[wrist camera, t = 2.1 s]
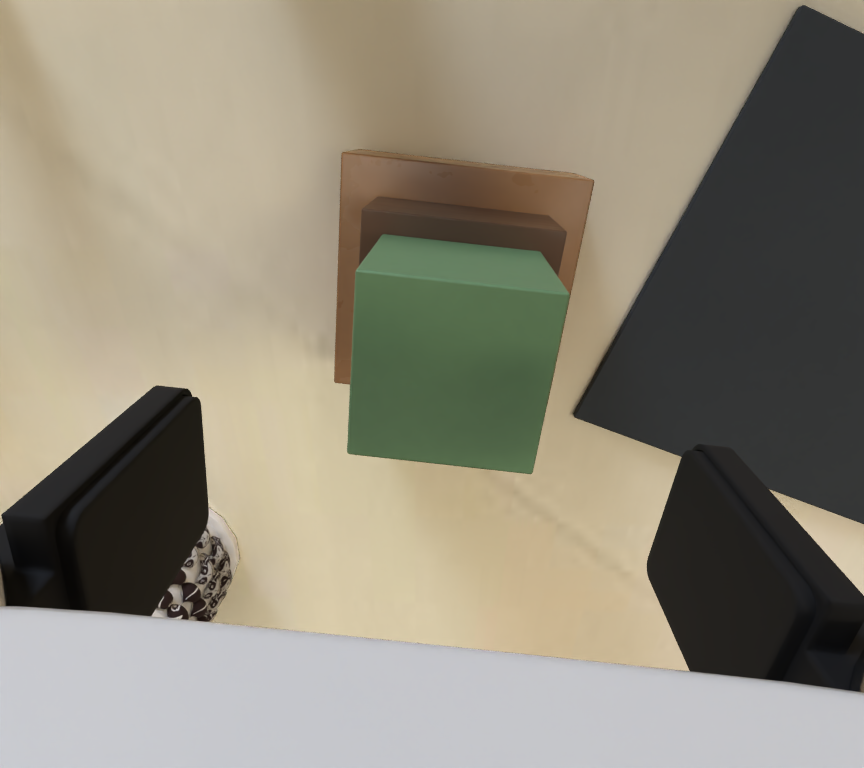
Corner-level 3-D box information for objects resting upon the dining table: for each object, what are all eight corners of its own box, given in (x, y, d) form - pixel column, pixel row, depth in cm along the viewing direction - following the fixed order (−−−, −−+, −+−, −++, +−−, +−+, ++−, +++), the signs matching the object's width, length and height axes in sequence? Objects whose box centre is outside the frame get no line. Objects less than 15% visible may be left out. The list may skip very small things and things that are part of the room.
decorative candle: (211, 621, 38) (-155, 1344, 15) (81, 559, 36) (-549, 1275, 14) (270, 534, 35) (-83, 1294, 12) (131, 461, 33) (-593, 1193, 10)
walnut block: (549, 215, 22) (567, 231, 19) (520, 374, 25) (531, 414, 22) (377, 196, 22) (361, 208, 19) (367, 357, 25) (352, 394, 22)
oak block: (575, 173, 25) (595, 180, 22) (536, 373, 30) (547, 406, 26) (358, 148, 25) (341, 151, 22) (349, 352, 30) (333, 383, 26)
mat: (1186, 193, 25) (1197, 194, 24) (881, 528, 33) (886, 532, 32) (798, 6, 23) (803, 4, 22) (572, 414, 31) (574, 417, 30)
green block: (541, 251, 19) (571, 293, 14) (515, 394, 21) (532, 475, 16) (382, 233, 19) (355, 269, 14) (372, 379, 21) (346, 454, 16)
